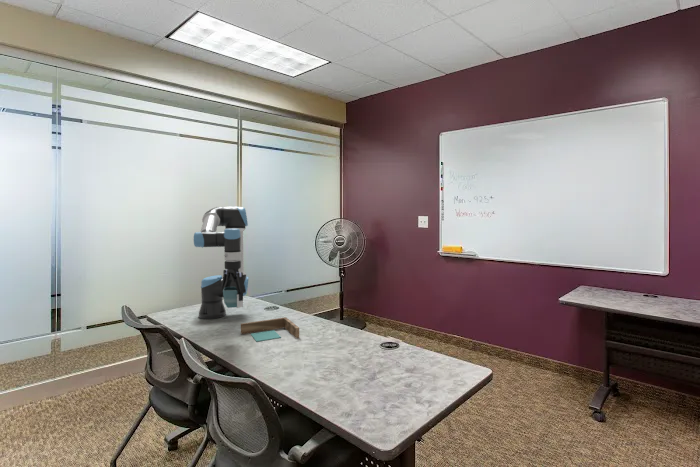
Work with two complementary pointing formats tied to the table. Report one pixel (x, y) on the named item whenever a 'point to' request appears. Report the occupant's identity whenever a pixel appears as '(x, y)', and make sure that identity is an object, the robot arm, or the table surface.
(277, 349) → the table surface
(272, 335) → the pad
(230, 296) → the flower pot
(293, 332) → the corner arena
